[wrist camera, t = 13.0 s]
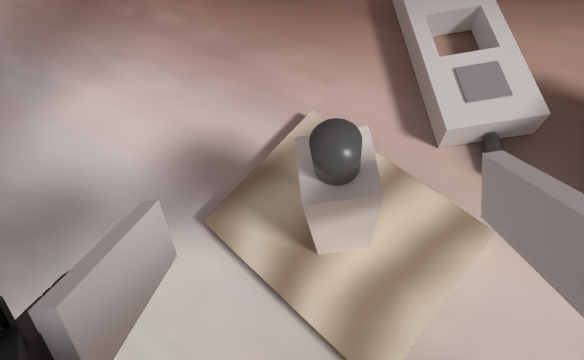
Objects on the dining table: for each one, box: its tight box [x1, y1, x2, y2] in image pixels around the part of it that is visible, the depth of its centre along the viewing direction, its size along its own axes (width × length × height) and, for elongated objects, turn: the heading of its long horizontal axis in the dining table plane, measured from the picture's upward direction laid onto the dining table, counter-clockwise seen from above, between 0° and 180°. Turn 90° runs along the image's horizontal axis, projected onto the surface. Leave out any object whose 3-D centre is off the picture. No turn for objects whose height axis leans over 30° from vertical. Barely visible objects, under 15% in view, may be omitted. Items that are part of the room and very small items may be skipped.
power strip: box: [392, 0, 551, 153], centre depth 33 cm, size 24×8×4 cm, turn 6°
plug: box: [294, 118, 384, 255], centre depth 22 cm, size 4×4×13 cm
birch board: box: [203, 110, 495, 360], centre depth 29 cm, size 18×14×2 cm
